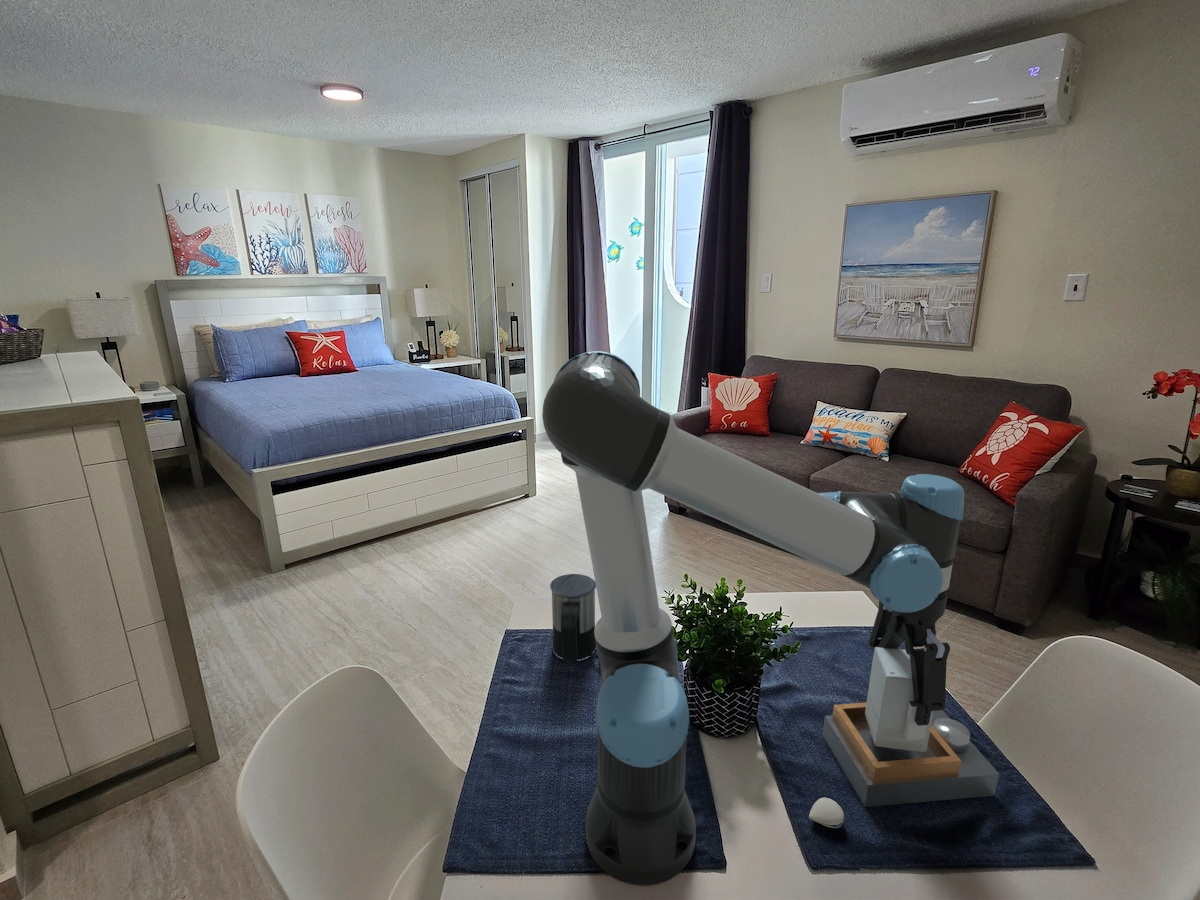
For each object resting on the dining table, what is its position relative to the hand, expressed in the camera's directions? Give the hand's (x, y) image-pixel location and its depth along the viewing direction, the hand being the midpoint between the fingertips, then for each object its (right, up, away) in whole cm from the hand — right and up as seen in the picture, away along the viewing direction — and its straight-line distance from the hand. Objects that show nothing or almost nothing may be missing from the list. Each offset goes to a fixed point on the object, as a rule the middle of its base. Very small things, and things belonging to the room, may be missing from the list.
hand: (896, 715), depth 94 cm
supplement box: (0, -3, +1) cm, 3 cm away
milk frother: (-47, -1, +31) cm, 56 cm away
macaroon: (-13, -12, -6) cm, 19 cm away
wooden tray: (+2, -9, +3) cm, 10 cm away
